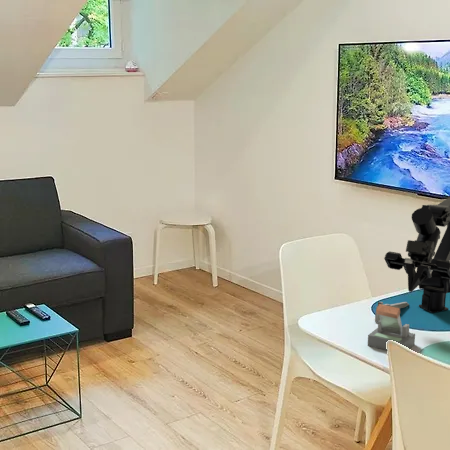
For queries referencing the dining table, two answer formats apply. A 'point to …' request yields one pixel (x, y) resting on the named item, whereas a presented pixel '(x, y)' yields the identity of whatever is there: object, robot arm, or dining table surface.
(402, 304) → the caliper
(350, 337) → the dining table surface
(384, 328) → the toggle lever
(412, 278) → the robot arm
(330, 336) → the dining table surface
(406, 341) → the breaker housing
